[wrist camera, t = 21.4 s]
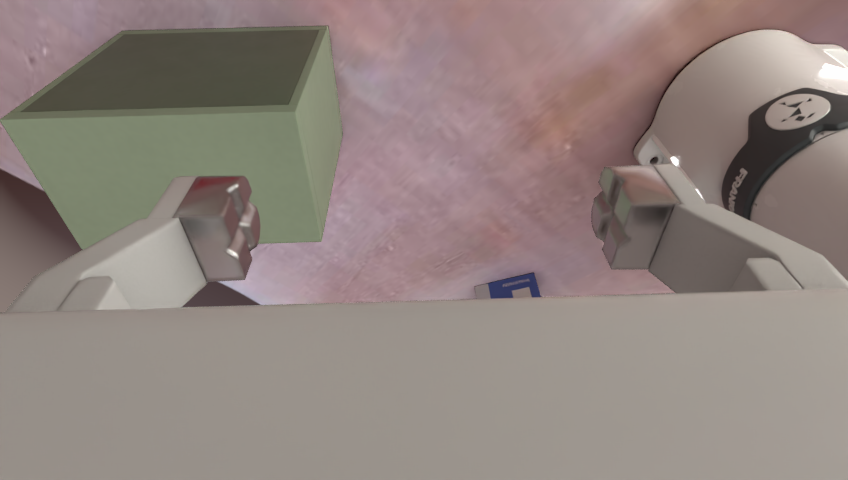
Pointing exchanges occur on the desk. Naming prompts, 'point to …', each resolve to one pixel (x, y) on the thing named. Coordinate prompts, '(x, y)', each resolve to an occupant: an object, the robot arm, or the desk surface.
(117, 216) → the cabinet
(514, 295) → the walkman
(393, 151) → the desk surface
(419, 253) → the desk surface
